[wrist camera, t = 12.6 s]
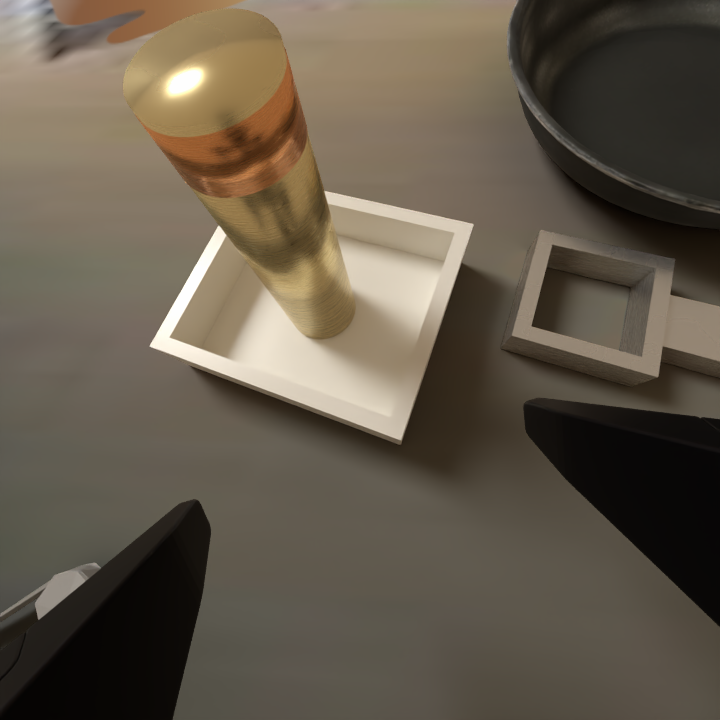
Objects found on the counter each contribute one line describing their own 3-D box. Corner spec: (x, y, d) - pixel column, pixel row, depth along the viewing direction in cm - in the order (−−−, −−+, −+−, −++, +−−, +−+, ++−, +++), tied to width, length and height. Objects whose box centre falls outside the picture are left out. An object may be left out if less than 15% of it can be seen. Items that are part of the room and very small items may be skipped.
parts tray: (462, 262, 21) (473, 224, 18) (400, 445, 18) (401, 440, 15) (269, 214, 24) (248, 173, 21) (188, 365, 21) (149, 346, 18)
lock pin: (354, 276, 21) (286, -5, 8) (357, 336, 19) (280, 110, 7) (291, 282, 21) (137, 23, 9) (289, 342, 20) (107, 136, 8)
